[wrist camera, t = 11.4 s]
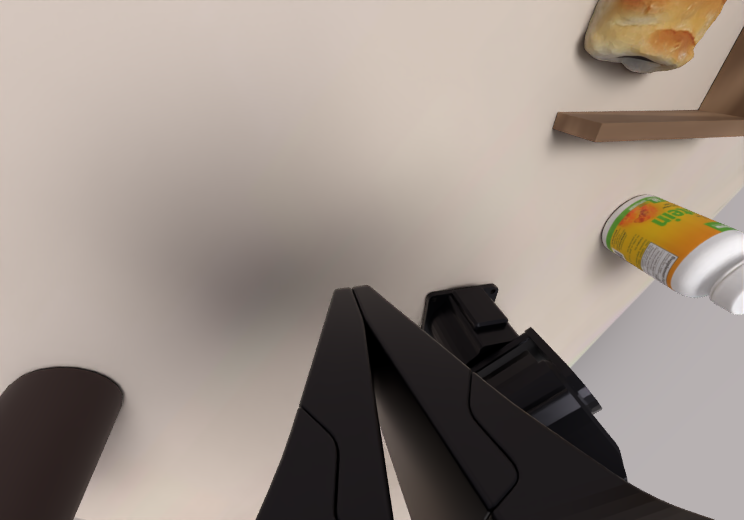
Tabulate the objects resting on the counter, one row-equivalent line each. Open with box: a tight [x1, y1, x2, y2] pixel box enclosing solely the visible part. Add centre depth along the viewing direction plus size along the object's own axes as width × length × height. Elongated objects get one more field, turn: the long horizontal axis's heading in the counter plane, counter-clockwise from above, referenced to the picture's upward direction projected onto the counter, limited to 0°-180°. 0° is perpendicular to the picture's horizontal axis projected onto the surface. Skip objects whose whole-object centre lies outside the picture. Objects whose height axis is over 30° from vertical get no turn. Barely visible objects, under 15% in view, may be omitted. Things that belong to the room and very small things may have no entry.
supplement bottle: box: [602, 195, 744, 315], centre depth 24 cm, size 5×5×10 cm
